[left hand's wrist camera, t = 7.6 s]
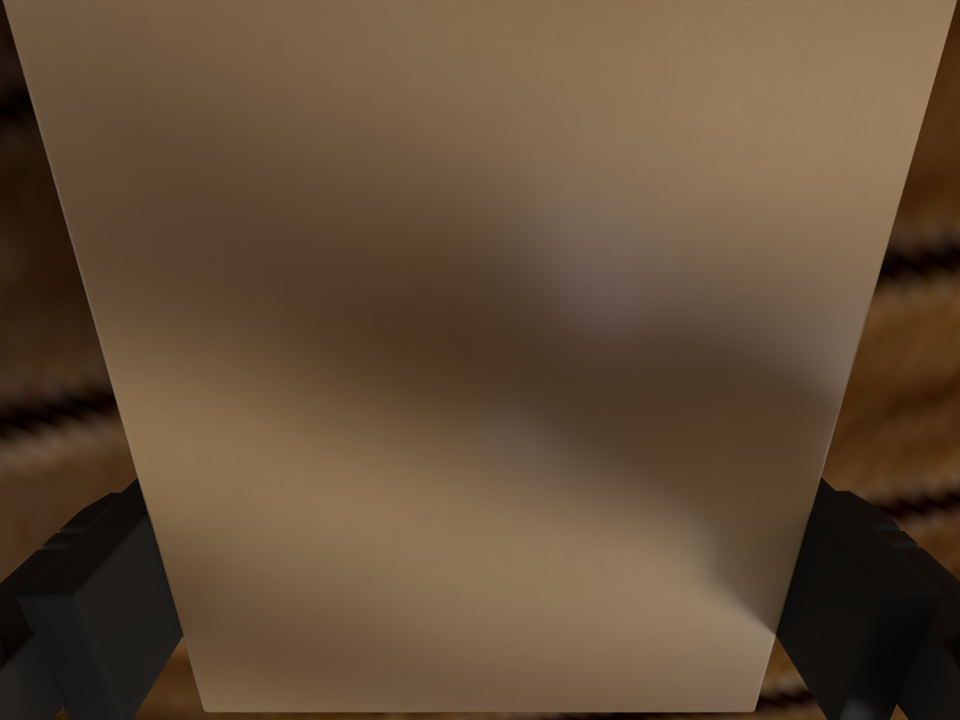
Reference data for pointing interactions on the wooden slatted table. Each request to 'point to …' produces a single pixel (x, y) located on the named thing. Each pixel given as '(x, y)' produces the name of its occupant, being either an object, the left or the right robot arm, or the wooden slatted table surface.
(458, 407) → the cabinet
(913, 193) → the wooden slatted table surface
